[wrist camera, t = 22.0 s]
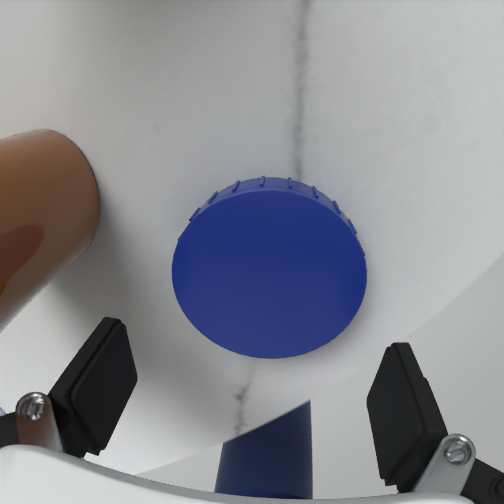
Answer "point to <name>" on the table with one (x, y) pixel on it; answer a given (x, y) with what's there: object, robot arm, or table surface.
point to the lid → (269, 269)
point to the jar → (41, 214)
